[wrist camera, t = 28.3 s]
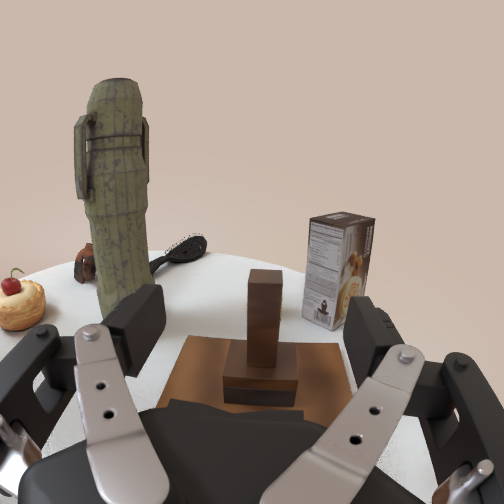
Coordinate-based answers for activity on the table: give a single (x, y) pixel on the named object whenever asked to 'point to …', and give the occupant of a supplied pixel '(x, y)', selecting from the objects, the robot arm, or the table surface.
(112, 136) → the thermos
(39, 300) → the pastry
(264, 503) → the robot arm
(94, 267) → the brown looped piece
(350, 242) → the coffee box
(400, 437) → the table surface
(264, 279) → the wooden post on base
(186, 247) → the hairbrush
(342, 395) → the cutting board
